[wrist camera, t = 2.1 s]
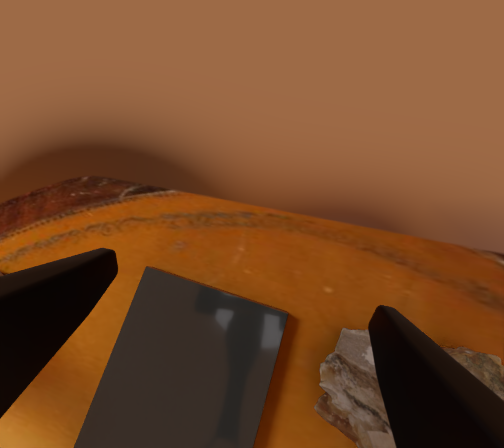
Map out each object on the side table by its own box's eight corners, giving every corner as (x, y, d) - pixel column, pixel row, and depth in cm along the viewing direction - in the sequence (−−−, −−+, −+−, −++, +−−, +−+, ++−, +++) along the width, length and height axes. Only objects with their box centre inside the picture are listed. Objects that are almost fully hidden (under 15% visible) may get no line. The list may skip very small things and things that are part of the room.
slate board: (225, 541, 18) (223, 560, 17) (70, 472, 19) (58, 485, 18) (286, 311, 21) (288, 313, 20) (151, 266, 23) (145, 266, 21)
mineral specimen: (399, 331, 27) (288, 376, 21) (431, 289, 23) (305, 330, 17) (554, 490, 16) (416, 651, 11) (657, 462, 13) (522, 686, 7)
